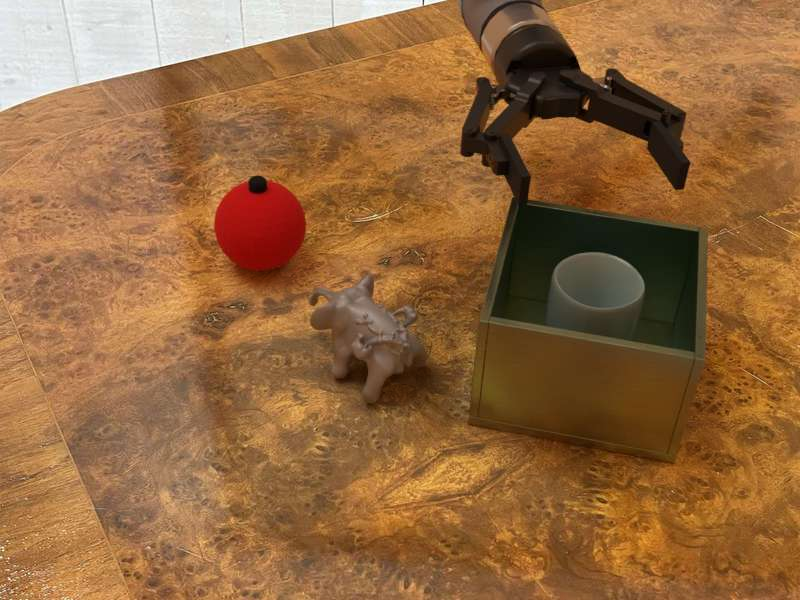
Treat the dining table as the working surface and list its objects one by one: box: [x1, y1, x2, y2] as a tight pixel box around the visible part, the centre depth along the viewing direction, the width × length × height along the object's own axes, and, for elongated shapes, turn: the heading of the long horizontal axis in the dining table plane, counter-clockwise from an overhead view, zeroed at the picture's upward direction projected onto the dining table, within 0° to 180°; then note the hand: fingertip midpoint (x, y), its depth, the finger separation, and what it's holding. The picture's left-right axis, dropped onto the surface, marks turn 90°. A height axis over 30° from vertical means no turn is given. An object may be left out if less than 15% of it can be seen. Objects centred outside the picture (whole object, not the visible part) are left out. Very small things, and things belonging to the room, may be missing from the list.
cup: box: [545, 252, 645, 341], centre depth 93 cm, size 8×8×10 cm
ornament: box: [213, 175, 307, 272], centre depth 105 cm, size 9×9×10 cm
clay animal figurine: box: [308, 273, 428, 404], centre depth 95 cm, size 9×12×8 cm
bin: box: [467, 196, 709, 464], centre depth 93 cm, size 18×18×12 cm
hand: (605, 183), depth 87 cm, fingers open, 13 cm apart
